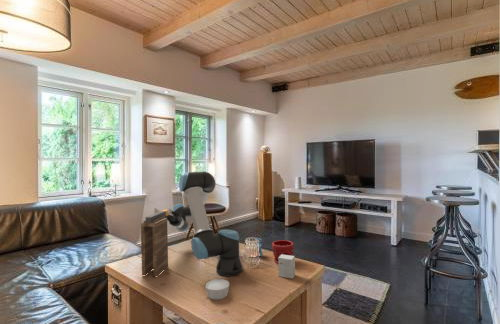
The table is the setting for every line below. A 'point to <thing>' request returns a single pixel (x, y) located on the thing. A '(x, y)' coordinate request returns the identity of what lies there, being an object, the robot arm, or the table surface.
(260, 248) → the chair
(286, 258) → the small box
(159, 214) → the marker
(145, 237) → the brown tall wooden block
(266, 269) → the table surface
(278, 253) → the plant pot
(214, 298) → the ramekin
